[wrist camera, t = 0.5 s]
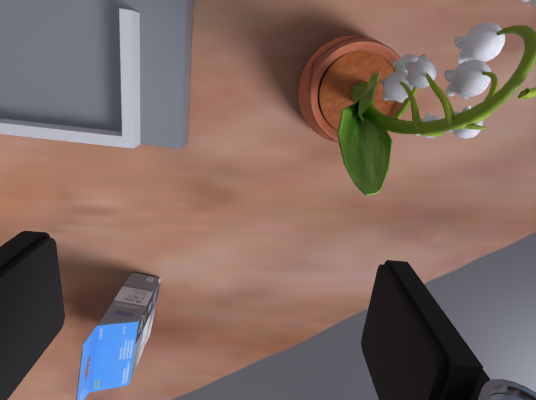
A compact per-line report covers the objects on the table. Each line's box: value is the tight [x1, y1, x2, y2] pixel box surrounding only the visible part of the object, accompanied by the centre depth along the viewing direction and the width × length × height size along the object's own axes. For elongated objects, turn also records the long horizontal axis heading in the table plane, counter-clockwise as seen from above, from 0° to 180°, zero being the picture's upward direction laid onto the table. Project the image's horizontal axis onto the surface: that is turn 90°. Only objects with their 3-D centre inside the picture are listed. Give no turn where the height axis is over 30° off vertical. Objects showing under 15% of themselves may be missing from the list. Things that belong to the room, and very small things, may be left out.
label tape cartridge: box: [76, 272, 160, 400], centre depth 40 cm, size 9×4×12 cm, turn 166°
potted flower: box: [298, 0, 536, 195], centre depth 25 cm, size 12×10×25 cm
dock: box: [0, 0, 193, 149], centre depth 33 cm, size 16×24×5 cm, turn 83°
